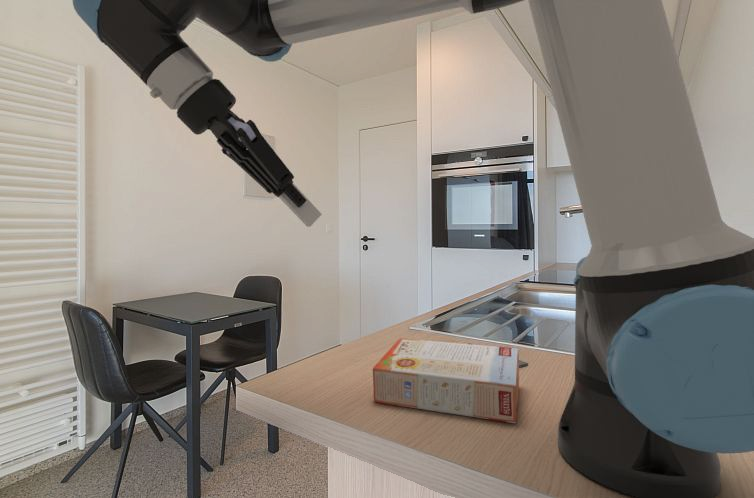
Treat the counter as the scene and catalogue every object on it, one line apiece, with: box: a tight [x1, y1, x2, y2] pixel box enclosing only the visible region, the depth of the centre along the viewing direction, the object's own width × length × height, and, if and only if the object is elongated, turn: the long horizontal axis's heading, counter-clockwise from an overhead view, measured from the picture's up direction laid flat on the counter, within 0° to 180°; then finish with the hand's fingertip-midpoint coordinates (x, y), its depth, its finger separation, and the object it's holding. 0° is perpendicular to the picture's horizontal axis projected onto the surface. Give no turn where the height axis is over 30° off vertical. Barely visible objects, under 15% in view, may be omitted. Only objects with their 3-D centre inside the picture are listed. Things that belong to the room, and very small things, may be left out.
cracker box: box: [372, 337, 520, 424], centre depth 63 cm, size 14×6×21 cm
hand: (314, 220), depth 62 cm, fingers closed
